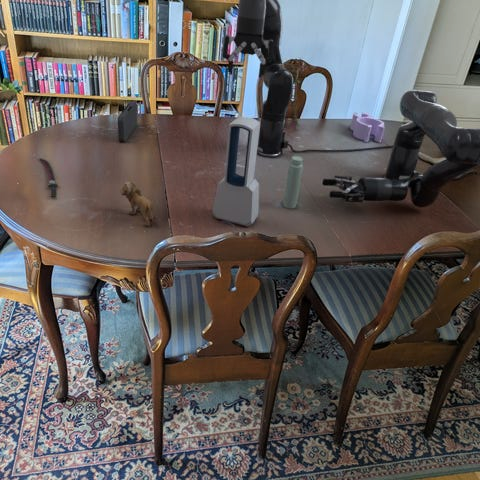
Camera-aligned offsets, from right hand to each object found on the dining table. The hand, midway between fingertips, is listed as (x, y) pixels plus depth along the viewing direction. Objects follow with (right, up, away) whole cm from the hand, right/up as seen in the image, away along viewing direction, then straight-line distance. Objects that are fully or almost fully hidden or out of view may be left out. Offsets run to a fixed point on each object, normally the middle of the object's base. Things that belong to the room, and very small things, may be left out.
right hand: (326, 188), depth 149 cm
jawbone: (+53, +19, +50) cm, 75 cm away
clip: (+30, +32, +67) cm, 80 cm away
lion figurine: (-57, -10, -13) cm, 59 cm away
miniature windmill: (-6, +36, +67) cm, 76 cm away
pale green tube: (-12, -5, +2) cm, 13 cm away
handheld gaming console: (-73, +27, +42) cm, 89 cm away
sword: (-90, +4, +2) cm, 90 cm away
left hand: (-26, +32, -12) cm, 43 cm away
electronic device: (-29, -10, -9) cm, 32 cm away
